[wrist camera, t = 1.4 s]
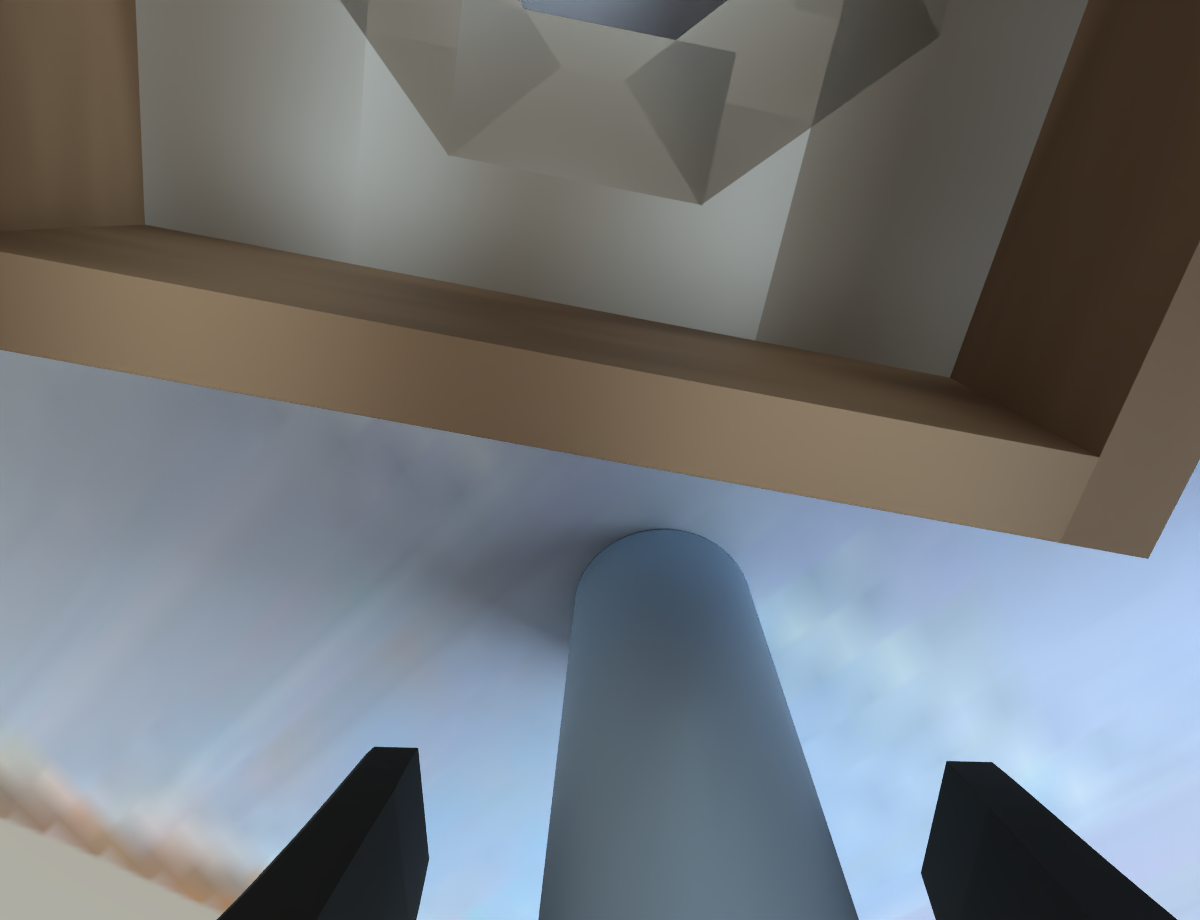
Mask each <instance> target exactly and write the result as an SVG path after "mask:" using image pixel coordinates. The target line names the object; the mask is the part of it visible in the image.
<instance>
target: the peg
mask: <svg viewBox="0 0 1200 920" xmlns="http://www.w3.org/2000/svg"><path fill="white" fill-rule="evenodd" d="M539 920H859V919H858V916H857V913H856V910H855V907H854V904H853V901H852V898H851V895H850V892H849V889H848V886H847V883H846V880H845V877H844V874H843V871H842V868H841V865H840V862H839V859H838V856H837V853H836V850H835V847H834V844H833V841H832V838H831V835H830V832H829V829H828V826H827V823H826V820H825V817H824V814H823V811H822V808H821V804H820V801H819V798H818V795H817V792H816V789H815V786H814V783H813V780H812V777H811V774H810V771H809V768H808V765H807V762H806V759H805V756H804V753H803V750H802V747H801V744H800V741H799V738H798V735H797V732H796V729H795V726H794V723H793V720H792V717H791V714H790V711H789V708H788V705H787V702H786V699H785V696H784V693H783V690H782V687H781V684H780V681H779V678H778V675H777V672H776V669H775V666H774V663H773V660H772V657H771V654H770V651H769V648H768V645H767V642H766V639H765V636H764V633H763V630H762V627H761V624H760V621H759V618H758V615H757V612H756V609H755V606H754V603H753V600H752V597H751V594H750V591H749V588H748V585H747V582H746V580H745V577H744V575H743V573H742V571H741V570H740V568H739V566H738V565H737V564H736V562H735V561H734V560H733V559H732V557H731V556H730V555H729V554H727V553H726V552H725V551H724V550H723V549H722V548H720V547H719V546H717V545H716V544H715V543H713V542H711V541H709V540H707V539H705V538H703V537H701V536H698V535H695V534H692V533H688V532H684V531H678V530H649V531H643V532H639V533H635V534H632V535H629V536H627V537H624V538H622V539H620V540H618V541H616V542H614V543H612V544H611V545H610V546H608V547H607V548H605V549H604V550H603V551H602V552H600V553H599V554H598V555H597V556H596V557H595V558H594V559H593V560H592V562H591V563H590V564H589V565H588V567H587V568H586V570H585V571H584V573H583V575H582V577H581V579H580V582H579V584H578V588H577V591H576V596H575V605H574V613H573V622H572V631H571V640H570V648H569V657H568V666H567V675H566V684H565V692H564V701H563V710H562V719H561V727H560V736H559V745H558V754H557V762H556V771H555V780H554V789H553V797H552V806H551V815H550V824H549V832H548V841H547V850H546V859H545V867H544V876H543V885H542V894H541V903H540V911H539Z"/></svg>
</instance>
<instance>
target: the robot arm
mask: <svg viewBox="0 0 1200 920" xmlns="http://www.w3.org/2000/svg"><path fill="white" fill-rule="evenodd" d="M428 862H429V854H428V844H427V834H426V824H425V814H424V803H423V793H422V783H421V773H420V763H419V753H418V748H398V747H374V748H372V749H371V750H370V751H369V752H368V753H367V754H366V755H365V756H364V757H363V758H362V760H361V761H360V762H359V763H358V764H357V766H356V767H355V768H354V769H353V770H352V771H351V773H350V774H349V775H348V776H347V777H346V778H345V780H344V781H343V782H342V783H341V784H340V786H339V787H338V788H337V789H336V790H335V791H334V793H333V794H332V795H331V796H330V797H329V798H328V800H327V801H326V802H325V803H324V804H323V805H322V807H321V808H320V809H319V810H318V811H317V812H316V813H315V815H314V816H313V817H312V818H311V819H310V820H309V821H308V822H307V824H306V825H305V826H304V827H303V828H302V829H301V830H300V832H299V833H298V834H297V835H296V836H295V837H294V838H293V839H292V840H291V842H290V843H289V844H288V845H287V846H286V847H285V848H284V849H283V850H282V851H281V852H280V854H279V855H278V856H277V857H276V858H275V859H274V860H273V861H272V862H271V863H270V864H269V866H268V867H267V868H266V869H265V870H264V871H263V872H262V873H261V874H260V875H259V876H258V878H257V879H256V880H255V881H254V882H253V883H252V884H251V885H250V886H249V887H248V888H247V889H246V890H245V891H244V892H243V894H242V895H241V896H240V897H239V898H238V899H237V900H236V901H235V902H234V903H233V904H232V905H231V906H230V907H229V908H228V909H227V910H226V911H225V912H224V913H223V914H222V915H221V916H220V917H219V918H218V919H217V920H416V918H417V914H418V910H419V905H420V900H421V895H422V891H423V886H424V881H425V876H426V871H427V866H428ZM921 874H922V878H923V881H924V884H925V887H926V890H927V893H928V896H929V900H930V903H931V906H932V909H933V912H934V915H935V918H936V920H1177V919H1176V918H1175V917H1173V916H1172V915H1171V914H1170V913H1169V912H1167V911H1166V910H1165V909H1164V908H1163V907H1161V906H1160V905H1159V904H1158V903H1157V902H1155V901H1154V900H1153V899H1152V898H1151V897H1149V896H1148V895H1147V894H1146V893H1145V892H1143V891H1142V890H1141V889H1140V888H1139V887H1137V886H1136V885H1135V884H1134V883H1133V882H1132V881H1130V880H1129V879H1128V878H1127V877H1126V876H1124V875H1123V874H1122V873H1121V872H1120V871H1119V870H1117V869H1116V868H1115V867H1114V866H1113V865H1112V864H1110V863H1109V862H1108V861H1107V860H1106V859H1104V858H1103V857H1102V856H1101V855H1100V854H1099V853H1097V852H1096V851H1095V850H1094V849H1093V848H1092V847H1091V846H1089V845H1088V844H1087V843H1086V842H1085V841H1084V840H1082V839H1081V838H1080V837H1079V836H1078V835H1077V834H1076V833H1074V832H1073V831H1072V830H1071V829H1070V828H1069V827H1067V826H1066V825H1065V824H1064V823H1063V822H1062V821H1061V820H1059V819H1058V818H1057V817H1056V816H1055V815H1054V814H1052V813H1051V812H1050V811H1049V810H1048V809H1047V808H1046V807H1044V806H1043V805H1042V804H1041V803H1040V802H1039V801H1037V800H1036V799H1035V798H1034V797H1033V796H1032V795H1031V794H1029V793H1028V792H1027V791H1026V790H1025V789H1024V788H1022V787H1021V786H1020V785H1019V784H1018V783H1017V782H1015V781H1014V780H1013V779H1012V778H1011V777H1009V776H1008V775H1007V774H1006V773H1005V772H1003V771H1002V770H1001V769H1000V768H998V767H997V766H996V765H995V764H994V763H992V762H960V761H946V766H945V770H944V775H943V779H942V783H941V788H940V792H939V796H938V801H937V805H936V810H935V814H934V818H933V823H932V827H931V831H930V836H929V840H928V844H927V849H926V853H925V858H924V862H923V866H922V871H921Z"/></svg>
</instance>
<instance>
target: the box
mask: <svg viewBox="0 0 1200 920" xmlns="http://www.w3.org/2000/svg"><path fill="white" fill-rule="evenodd" d="M0 350H5V351H10V352H16V353H21V354H27V355H32V356H38V357H43V358H49V359H54V360H60V361H65V362H71V363H76V364H82V365H87V366H93V367H98V368H104V369H109V370H115V371H120V372H126V373H131V374H137V375H142V376H148V377H153V378H159V379H164V380H170V381H175V382H180V383H186V384H191V385H197V386H202V387H208V388H213V389H219V390H224V391H230V392H235V393H241V394H246V395H252V396H257V397H263V398H268V399H274V400H279V401H285V402H290V403H296V404H301V405H307V406H312V407H318V408H323V409H329V410H334V411H340V412H345V413H351V414H356V415H362V416H367V417H373V418H378V419H384V420H389V421H395V422H400V423H406V424H411V425H417V426H422V427H428V428H433V429H439V430H444V431H450V432H455V433H460V434H466V435H471V436H477V437H482V438H488V439H493V440H499V441H504V442H510V443H515V444H521V445H526V446H532V447H537V448H543V449H548V450H554V451H559V452H565V453H570V454H576V455H581V456H587V457H592V458H598V459H603V460H609V461H614V462H620V463H625V464H631V465H636V466H642V467H647V468H653V469H658V470H664V471H669V472H675V473H680V474H686V475H691V476H697V477H702V478H708V479H713V480H719V481H724V482H730V483H735V484H741V485H746V486H751V487H757V488H762V489H768V490H773V491H779V492H784V493H790V494H795V495H801V496H806V497H812V498H817V499H823V500H828V501H834V502H839V503H845V504H850V505H856V506H861V507H867V508H872V509H878V510H883V511H889V512H894V513H900V514H905V515H911V516H916V517H922V518H927V519H933V520H938V521H944V522H949V523H955V524H960V525H966V526H971V527H977V528H982V529H988V530H993V531H999V532H1004V533H1010V534H1015V535H1021V536H1026V537H1031V538H1037V539H1042V540H1048V541H1053V542H1059V543H1064V544H1070V545H1075V546H1081V547H1086V548H1092V549H1097V550H1103V551H1108V552H1114V553H1119V554H1125V555H1130V556H1136V557H1141V558H1147V559H1148V558H1149V556H1150V554H1151V552H1152V550H1153V548H1154V546H1155V544H1156V542H1157V540H1158V539H1159V537H1160V535H1161V533H1162V531H1163V529H1164V527H1165V525H1166V523H1167V521H1168V519H1169V517H1170V515H1171V513H1172V511H1173V510H1174V508H1175V506H1176V504H1177V502H1178V500H1179V498H1180V496H1181V494H1182V492H1183V490H1184V488H1185V486H1186V484H1187V482H1188V481H1189V479H1190V477H1191V475H1192V473H1193V471H1194V469H1195V467H1196V465H1197V463H1198V461H1199V459H1200V0H727V1H726V2H724V3H723V4H722V5H721V6H719V7H718V8H717V9H715V10H714V11H713V12H711V13H710V14H709V15H708V16H706V17H705V18H704V19H702V20H701V21H700V22H699V23H697V24H696V25H695V26H693V27H692V28H691V29H689V30H688V31H687V32H686V33H684V34H683V35H682V36H680V37H679V38H678V39H677V40H673V39H668V38H663V37H659V36H654V35H649V34H644V33H639V32H634V31H629V30H625V29H620V28H615V27H610V26H605V25H600V24H595V23H590V22H586V21H581V20H576V19H571V18H566V17H561V16H556V15H552V14H547V13H542V12H537V11H532V10H527V9H524V7H523V6H522V4H521V2H520V1H519V0H0Z"/></svg>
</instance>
